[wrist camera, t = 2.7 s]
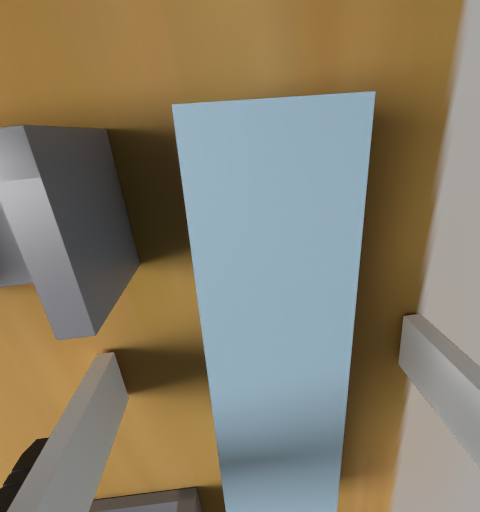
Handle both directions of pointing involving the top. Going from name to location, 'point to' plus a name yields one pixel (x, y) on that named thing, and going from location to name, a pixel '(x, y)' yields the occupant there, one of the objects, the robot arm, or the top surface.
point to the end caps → (71, 246)
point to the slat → (277, 284)
